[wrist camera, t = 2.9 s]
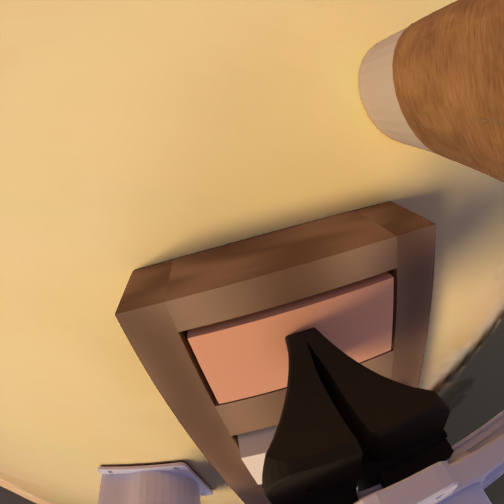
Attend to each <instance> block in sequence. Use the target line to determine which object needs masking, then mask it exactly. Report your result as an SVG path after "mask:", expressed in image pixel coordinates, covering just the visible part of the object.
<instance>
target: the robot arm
mask: <svg viewBox="0 0 504 504" xmlns="http://www.w3.org/2000/svg"><path fill="white" fill-rule="evenodd" d="M285 341H286V345H287V350H288V358H289V369H288V382H287V390H286V396H285V401H284V406H283V410H282V414H281V417H280V420H279V423H278V426H277V429H276V432H275V435H274V437H273V440H272V442H271V444H270V446H269V448H268V450H267V452H266V454H265V459H264V465H263V472H262V484H263V489H264V493H265V496H266V497H267V499H268V500H269V502H270V503H271V504H491V502H490V501H489V499H488V497H487V496H486V494H485V492H484V491H483V489H484V488H486V487H487V486H488V485H490V484H491V483H492V482H493V481H495V480H496V479H497V478H498V477H499V476H501V475H502V474H503V473H504V410H503V411H502V412H501V413H499V414H498V415H497V416H495V417H494V418H493V419H491V420H490V421H489V422H488V423H486V424H485V425H484V426H482V427H480V428H479V429H478V430H476V431H475V432H473V433H472V434H470V435H469V436H468V437H466V438H464V439H463V440H461V441H460V442H458V443H456V444H455V445H453V446H452V447H451V446H450V444H449V443H448V441H447V439H446V437H447V434H446V432H445V431H444V429H443V428H444V426H445V423H446V421H447V419H448V416H449V412H450V410H449V407H448V406H447V404H446V403H445V402H444V401H443V399H442V398H441V397H440V396H439V395H438V394H437V393H436V392H434V391H429V390H425V389H420V388H415V387H412V386H408V385H405V384H402V383H399V382H397V381H394V380H392V379H389V378H386V377H384V376H382V375H380V374H378V373H376V372H374V371H372V370H370V369H368V368H367V367H365V366H363V365H362V364H360V363H358V362H357V361H355V360H354V359H352V358H351V357H349V356H348V355H347V354H345V353H344V352H343V351H341V350H340V349H339V348H337V347H336V346H335V345H334V344H333V343H331V342H330V341H329V340H328V339H327V338H326V337H325V336H323V335H322V334H321V333H320V332H319V331H318V330H317V329H316V328H314V327H313V328H310V329H307V330H304V331H301V332H297V333H294V334H291V335H287V336H286V337H285ZM98 472H99V473H101V474H102V477H101V484H100V491H99V499H98V504H201V502H200V496H207V495H212V494H213V491H212V490H211V489H210V488H209V487H208V486H207V485H206V484H205V483H204V482H203V481H202V480H201V479H200V478H199V477H198V475H197V474H196V473H195V472H194V471H193V470H192V469H191V468H190V467H189V466H188V465H187V464H186V463H184V462H177V463H168V464H157V465H143V466H120V467H98ZM357 488H358V490H359V492H358V493H356V489H357Z"/></svg>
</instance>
